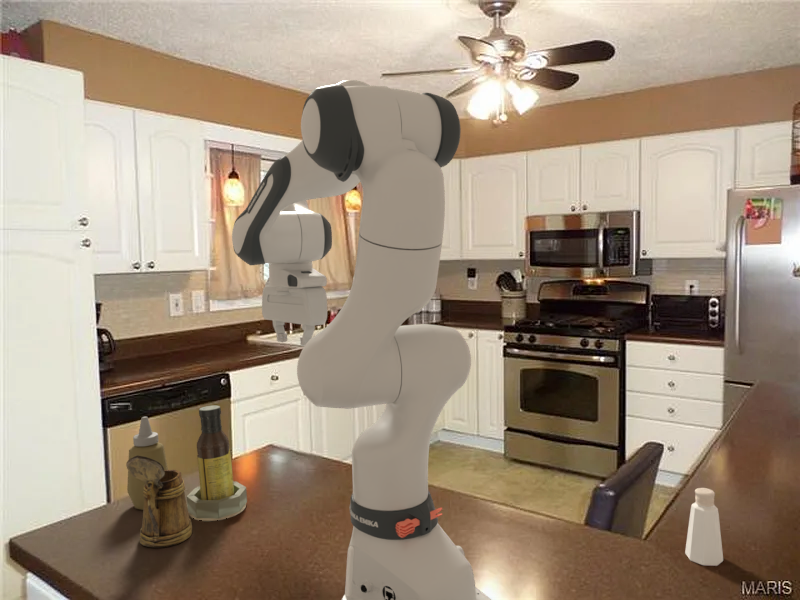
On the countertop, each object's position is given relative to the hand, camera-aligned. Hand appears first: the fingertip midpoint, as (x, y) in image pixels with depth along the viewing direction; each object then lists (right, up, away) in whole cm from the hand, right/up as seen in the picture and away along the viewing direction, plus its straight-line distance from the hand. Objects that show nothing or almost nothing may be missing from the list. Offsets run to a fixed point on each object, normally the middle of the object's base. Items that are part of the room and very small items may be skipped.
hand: (293, 343), depth 124 cm
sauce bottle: (-14, -32, -6) cm, 35 cm away
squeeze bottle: (-29, -33, -3) cm, 43 cm away
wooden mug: (-20, -34, -19) cm, 44 cm away
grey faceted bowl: (-14, -32, -6) cm, 36 cm away
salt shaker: (+70, -32, -29) cm, 83 cm away
